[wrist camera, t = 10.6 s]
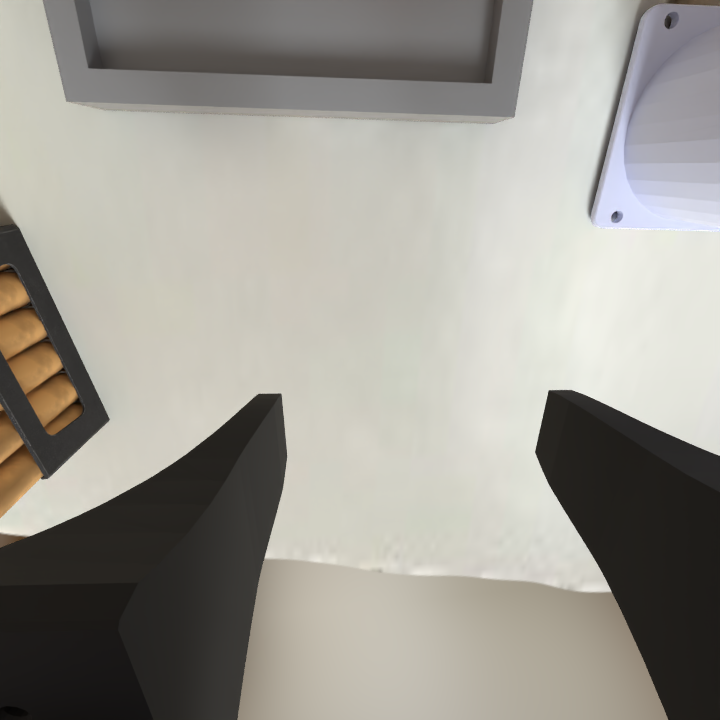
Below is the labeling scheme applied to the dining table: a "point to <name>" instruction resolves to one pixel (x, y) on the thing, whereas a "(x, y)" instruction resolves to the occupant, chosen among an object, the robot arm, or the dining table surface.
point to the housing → (294, 57)
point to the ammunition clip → (37, 378)
